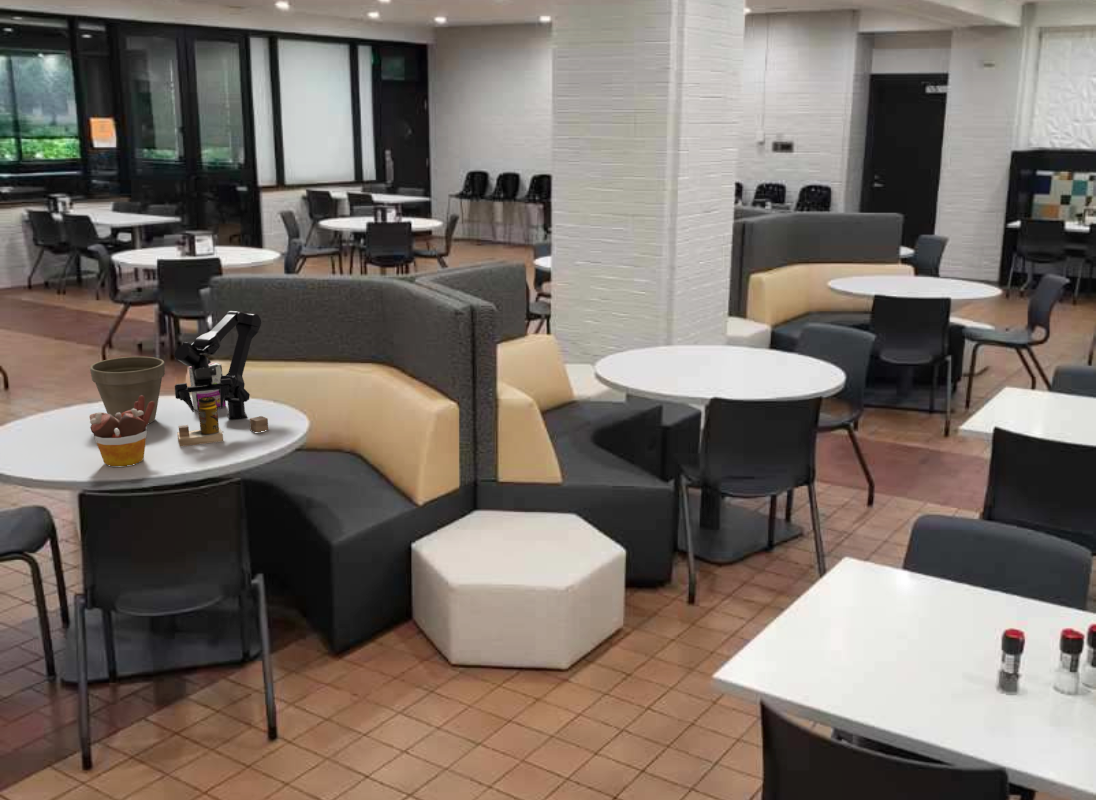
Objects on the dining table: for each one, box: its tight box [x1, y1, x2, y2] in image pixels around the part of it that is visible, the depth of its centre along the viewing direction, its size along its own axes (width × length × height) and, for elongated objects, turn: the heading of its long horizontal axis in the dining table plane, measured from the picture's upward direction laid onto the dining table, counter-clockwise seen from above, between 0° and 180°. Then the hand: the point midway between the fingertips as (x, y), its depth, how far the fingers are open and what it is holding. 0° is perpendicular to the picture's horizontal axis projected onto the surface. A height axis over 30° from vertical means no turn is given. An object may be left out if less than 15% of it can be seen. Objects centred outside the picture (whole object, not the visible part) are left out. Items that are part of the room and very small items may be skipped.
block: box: [249, 415, 269, 433], centre depth 376 cm, size 4×4×4 cm
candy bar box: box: [188, 362, 227, 412], centre depth 406 cm, size 11×5×16 cm, turn 130°
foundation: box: [177, 424, 224, 447], centre depth 366 cm, size 9×14×6 cm, turn 112°
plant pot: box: [89, 356, 166, 424], centre depth 387 cm, size 25×25×22 cm
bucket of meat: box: [89, 395, 155, 467], centre depth 342 cm, size 20×16×20 cm
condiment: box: [191, 397, 224, 437], centre depth 364 cm, size 7×8×12 cm
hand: (207, 409), depth 365 cm, fingers open, 9 cm apart
